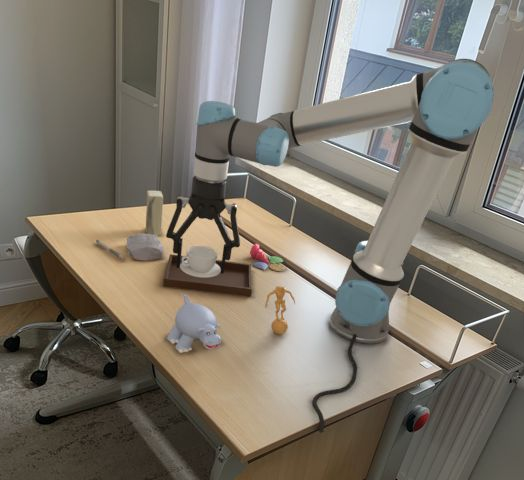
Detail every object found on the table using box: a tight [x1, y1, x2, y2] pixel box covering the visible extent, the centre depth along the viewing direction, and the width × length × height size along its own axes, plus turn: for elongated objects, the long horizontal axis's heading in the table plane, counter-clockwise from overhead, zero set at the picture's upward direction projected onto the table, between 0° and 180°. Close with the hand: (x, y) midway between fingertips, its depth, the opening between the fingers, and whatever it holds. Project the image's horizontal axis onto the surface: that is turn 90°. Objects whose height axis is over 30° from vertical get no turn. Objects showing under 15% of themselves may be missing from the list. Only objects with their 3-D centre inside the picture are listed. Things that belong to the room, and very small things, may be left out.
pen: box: [95, 239, 125, 260], centre depth 157 cm, size 1×14×1 cm, turn 47°
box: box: [145, 190, 164, 236], centre depth 170 cm, size 5×4×13 cm
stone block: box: [126, 233, 164, 262], centre depth 160 cm, size 12×5×10 cm
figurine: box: [264, 285, 296, 335], centre depth 132 cm, size 8×6×12 cm
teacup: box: [180, 245, 221, 277], centre depth 132 cm, size 10×10×5 cm
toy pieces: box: [249, 243, 286, 272], centre depth 166 cm, size 12×11×4 cm
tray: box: [162, 253, 253, 298], centre depth 153 cm, size 16×24×2 cm, turn 92°
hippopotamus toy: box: [166, 293, 222, 354], centre depth 123 cm, size 11×15×10 cm
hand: (200, 268), depth 133 cm, fingers closed on teacup, 10 cm apart
